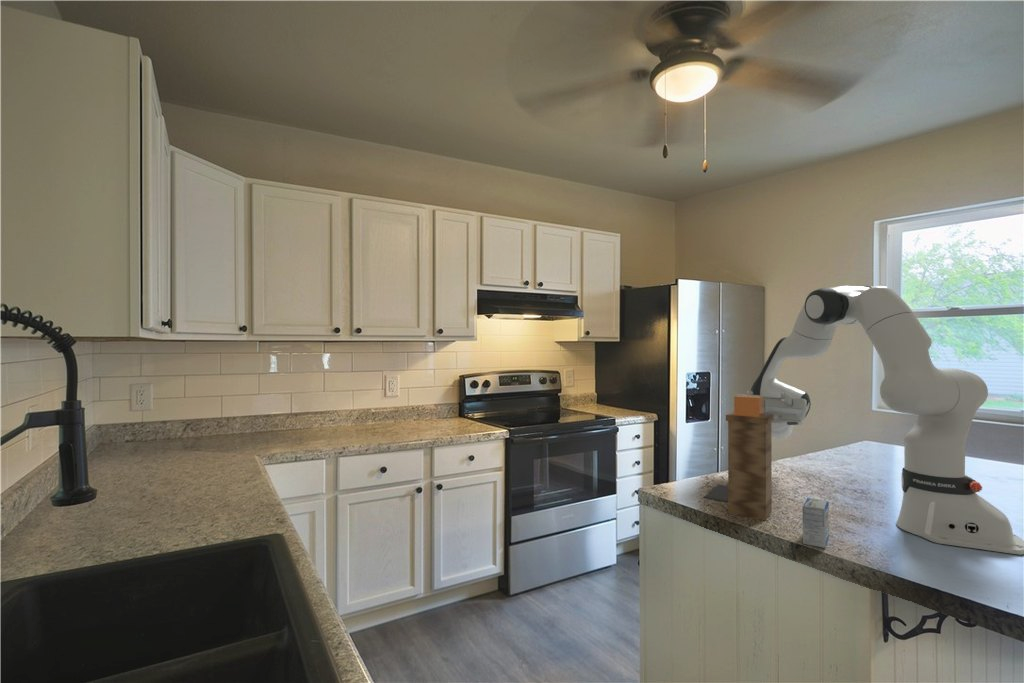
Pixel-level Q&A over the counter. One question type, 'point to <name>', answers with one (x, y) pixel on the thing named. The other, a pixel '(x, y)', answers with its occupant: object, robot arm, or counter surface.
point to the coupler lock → (749, 405)
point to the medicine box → (815, 522)
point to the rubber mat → (718, 493)
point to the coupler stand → (750, 465)
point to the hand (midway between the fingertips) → (766, 394)
